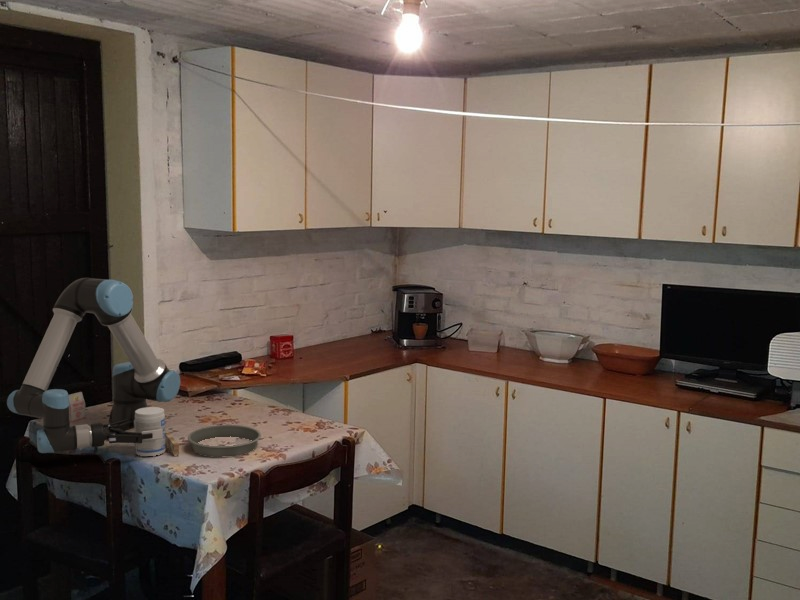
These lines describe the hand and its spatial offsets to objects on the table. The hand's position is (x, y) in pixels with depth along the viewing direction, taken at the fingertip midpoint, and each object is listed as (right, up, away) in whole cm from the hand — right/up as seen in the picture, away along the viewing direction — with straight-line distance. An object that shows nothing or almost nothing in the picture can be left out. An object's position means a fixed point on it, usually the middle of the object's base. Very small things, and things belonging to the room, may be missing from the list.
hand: (158, 427), depth 258 cm
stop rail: (+4, -8, +3) cm, 9 cm away
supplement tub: (-3, -9, 0) cm, 9 cm away
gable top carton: (-43, -3, +35) cm, 55 cm away
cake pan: (+20, -8, +8) cm, 24 cm away
